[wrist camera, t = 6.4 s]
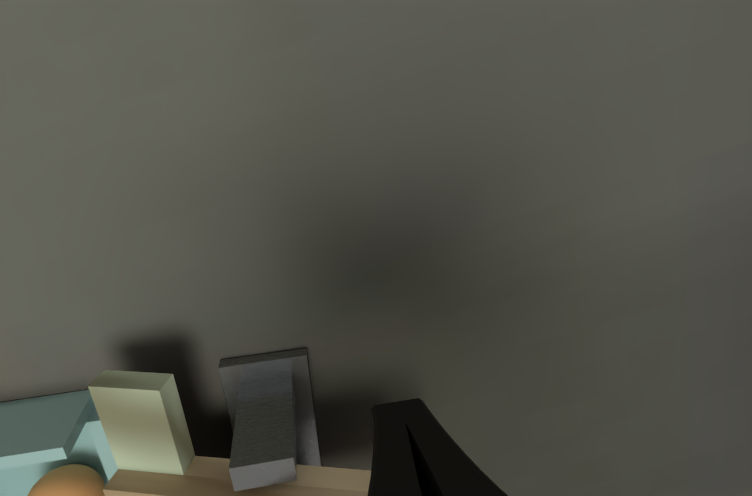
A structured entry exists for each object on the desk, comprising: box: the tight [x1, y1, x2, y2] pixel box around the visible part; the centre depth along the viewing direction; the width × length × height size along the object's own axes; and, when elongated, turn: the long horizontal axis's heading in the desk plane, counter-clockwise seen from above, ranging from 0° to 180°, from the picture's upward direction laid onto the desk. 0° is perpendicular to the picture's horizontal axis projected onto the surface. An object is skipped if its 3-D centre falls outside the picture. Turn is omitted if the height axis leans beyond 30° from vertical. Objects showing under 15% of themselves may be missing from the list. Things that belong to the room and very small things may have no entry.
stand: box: [219, 348, 321, 491], centre depth 22 cm, size 10×4×6 cm, turn 3°
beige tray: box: [88, 370, 371, 496], centre depth 19 cm, size 10×13×2 cm
